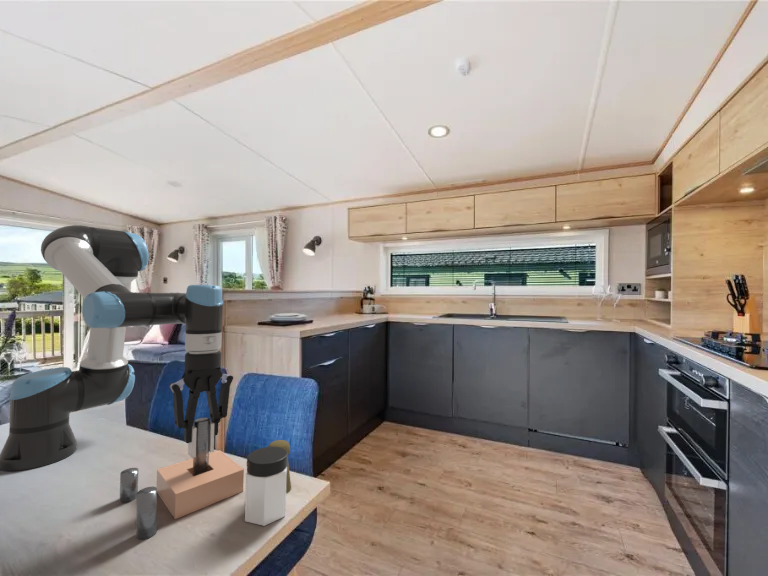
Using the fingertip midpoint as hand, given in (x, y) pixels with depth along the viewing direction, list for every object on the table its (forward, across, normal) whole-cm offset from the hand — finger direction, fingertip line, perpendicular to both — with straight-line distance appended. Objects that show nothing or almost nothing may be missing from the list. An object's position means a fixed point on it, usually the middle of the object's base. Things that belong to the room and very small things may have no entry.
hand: (201, 452), depth 79 cm
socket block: (+9, 0, 0) cm, 9 cm away
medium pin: (+9, -12, -8) cm, 17 cm away
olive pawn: (+9, +13, -12) cm, 20 cm away
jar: (+9, +7, -18) cm, 21 cm away
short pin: (+9, -12, +8) cm, 17 cm away
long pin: (+5, 0, 0) cm, 5 cm away
